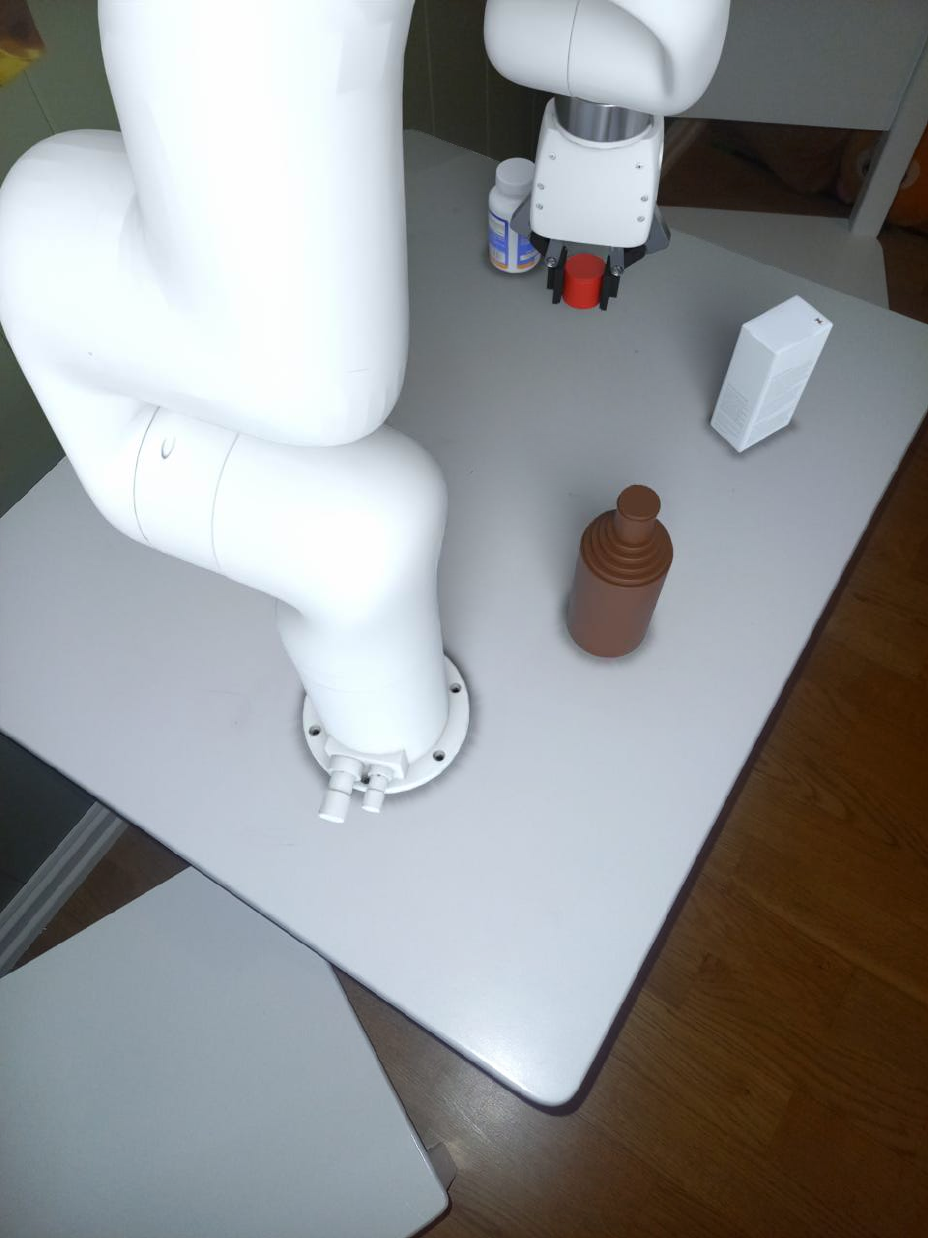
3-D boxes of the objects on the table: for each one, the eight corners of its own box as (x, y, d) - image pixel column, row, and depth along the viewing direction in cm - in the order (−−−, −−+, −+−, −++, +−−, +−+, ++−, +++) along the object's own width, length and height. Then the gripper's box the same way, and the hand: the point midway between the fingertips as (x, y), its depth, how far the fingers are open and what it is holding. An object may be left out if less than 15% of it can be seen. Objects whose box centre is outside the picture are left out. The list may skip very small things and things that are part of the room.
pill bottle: (542, 240, 89) (548, 152, 81) (539, 276, 87) (545, 189, 78) (490, 238, 90) (491, 150, 81) (486, 273, 87) (486, 187, 79)
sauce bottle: (657, 649, 67) (704, 533, 52) (578, 665, 66) (604, 552, 52) (633, 581, 70) (672, 453, 55) (558, 595, 69) (577, 469, 55)
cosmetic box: (757, 395, 79) (798, 291, 68) (788, 425, 77) (836, 323, 66) (706, 424, 77) (741, 322, 67) (737, 455, 76) (778, 355, 65)
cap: (587, 278, 81) (591, 247, 78) (610, 300, 79) (615, 270, 76) (554, 291, 80) (556, 261, 77) (576, 314, 78) (580, 284, 75)
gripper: (723, 80, 63) (675, 280, 79) (504, 58, 65) (501, 258, 81) (715, 142, 60) (667, 338, 76) (484, 117, 62) (485, 313, 78)
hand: (581, 295), depth 79 cm, fingers closed on cap, 3 cm apart
